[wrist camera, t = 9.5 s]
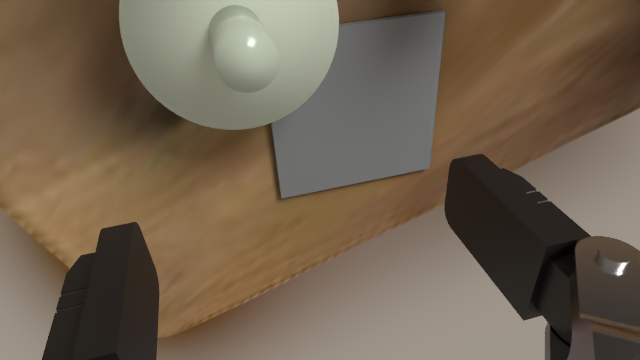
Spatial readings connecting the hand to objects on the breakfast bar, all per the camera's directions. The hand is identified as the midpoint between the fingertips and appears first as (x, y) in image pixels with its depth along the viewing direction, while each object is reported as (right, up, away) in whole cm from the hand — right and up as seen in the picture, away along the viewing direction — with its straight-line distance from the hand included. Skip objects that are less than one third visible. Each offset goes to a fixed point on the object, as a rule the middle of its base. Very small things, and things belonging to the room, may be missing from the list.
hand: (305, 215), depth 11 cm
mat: (+3, +7, +25) cm, 26 cm away
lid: (-5, +10, +14) cm, 18 cm away
